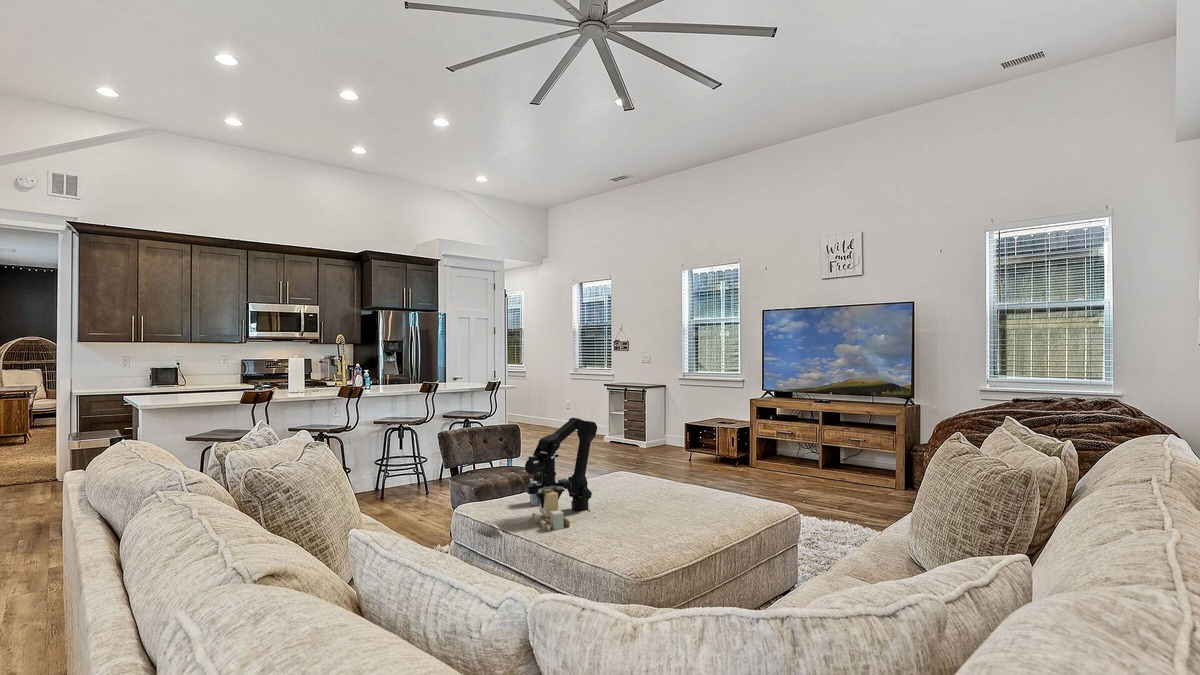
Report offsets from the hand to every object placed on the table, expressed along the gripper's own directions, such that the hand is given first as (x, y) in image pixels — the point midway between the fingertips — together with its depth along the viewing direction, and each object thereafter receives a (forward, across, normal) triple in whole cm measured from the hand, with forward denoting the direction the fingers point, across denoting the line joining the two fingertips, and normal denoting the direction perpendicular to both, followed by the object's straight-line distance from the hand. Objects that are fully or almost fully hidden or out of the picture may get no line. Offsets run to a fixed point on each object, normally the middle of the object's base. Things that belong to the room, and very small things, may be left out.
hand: (548, 507), depth 243 cm
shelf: (+7, 0, +2) cm, 7 cm away
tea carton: (+2, 0, 0) cm, 3 cm away
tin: (+6, 0, +9) cm, 11 cm away
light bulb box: (+7, -8, -28) cm, 30 cm away
